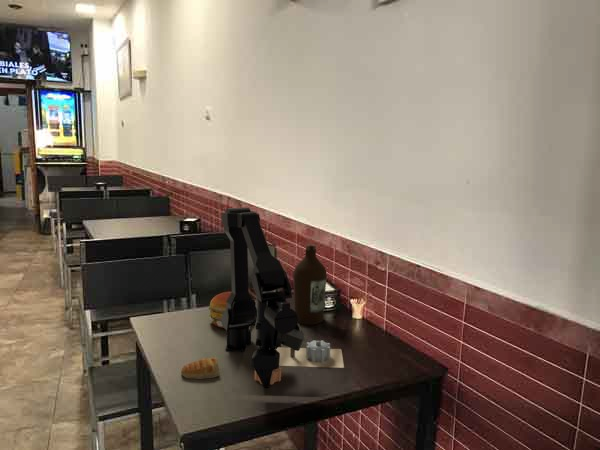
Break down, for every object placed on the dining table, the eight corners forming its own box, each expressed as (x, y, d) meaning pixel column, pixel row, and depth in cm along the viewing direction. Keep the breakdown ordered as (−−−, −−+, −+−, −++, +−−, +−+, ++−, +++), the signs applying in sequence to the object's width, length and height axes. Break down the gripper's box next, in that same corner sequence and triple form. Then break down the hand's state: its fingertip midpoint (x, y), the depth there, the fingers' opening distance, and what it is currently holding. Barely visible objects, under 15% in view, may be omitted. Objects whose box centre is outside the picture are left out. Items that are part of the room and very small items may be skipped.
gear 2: (305, 362, 130) (306, 346, 129) (306, 351, 136) (306, 336, 135) (330, 363, 130) (330, 346, 129) (329, 352, 136) (329, 337, 135)
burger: (253, 316, 165) (253, 287, 163) (249, 332, 152) (249, 301, 150) (212, 315, 165) (212, 286, 163) (205, 331, 151) (204, 300, 150)
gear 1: (253, 388, 119) (253, 374, 118) (256, 375, 125) (256, 362, 124) (280, 389, 118) (280, 375, 118) (281, 376, 125) (281, 363, 124)
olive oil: (285, 318, 163) (287, 244, 158) (308, 311, 170) (310, 240, 166) (308, 328, 155) (311, 250, 151) (331, 320, 163) (334, 245, 158)
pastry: (182, 383, 121) (182, 368, 120) (179, 371, 127) (179, 357, 126) (221, 377, 124) (221, 363, 123) (216, 366, 130) (216, 352, 129)
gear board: (266, 369, 128) (266, 348, 127) (269, 351, 139) (269, 331, 138) (343, 372, 128) (344, 351, 127) (341, 353, 139) (341, 334, 138)
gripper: (302, 334, 109) (300, 399, 112) (303, 305, 128) (301, 362, 130) (251, 333, 109) (251, 398, 112) (259, 304, 128) (259, 360, 131)
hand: (268, 378), depth 121 cm, fingers open, 9 cm apart
